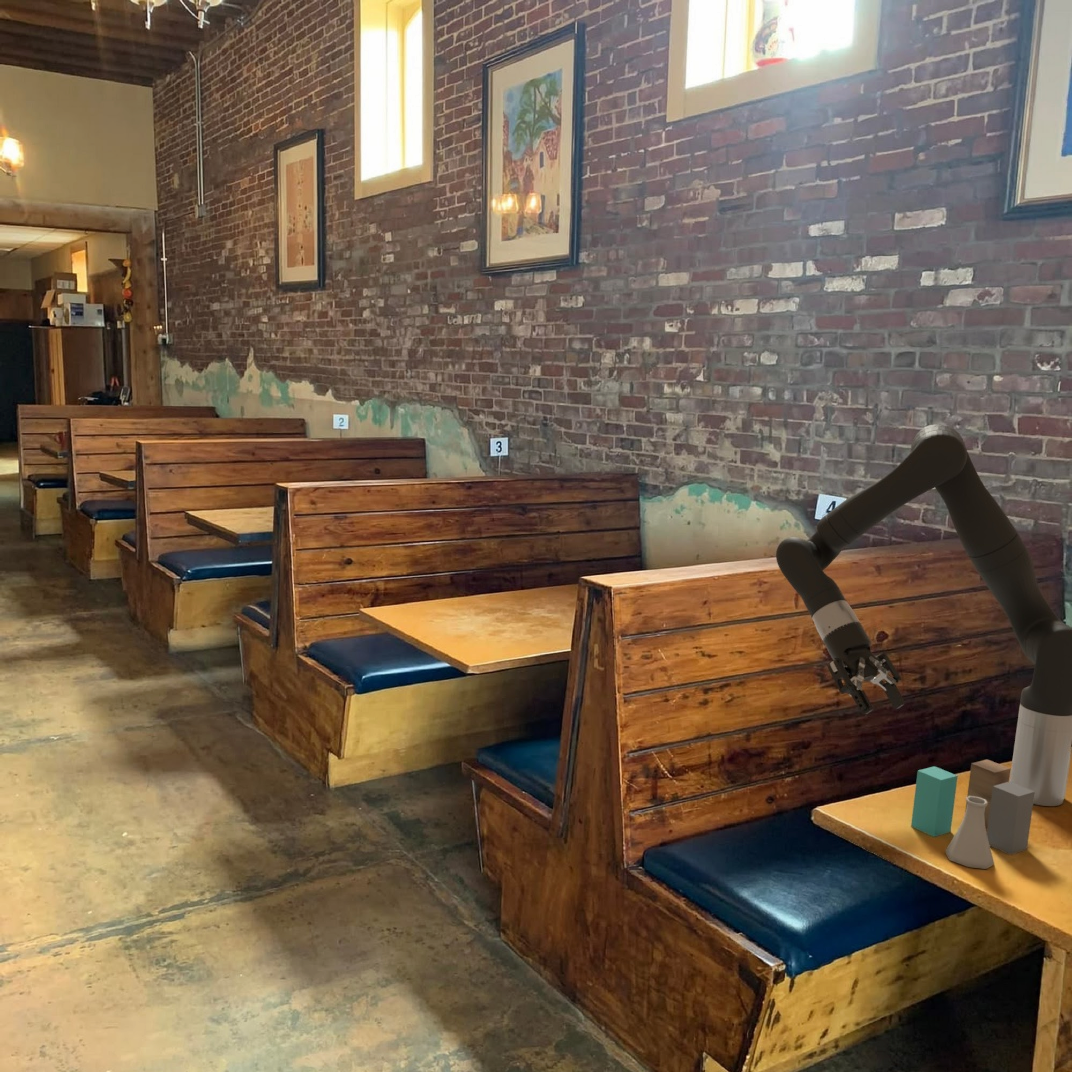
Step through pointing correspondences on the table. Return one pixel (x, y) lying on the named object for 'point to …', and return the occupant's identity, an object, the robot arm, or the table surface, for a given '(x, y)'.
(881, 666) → the robot arm
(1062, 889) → the table surface
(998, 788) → the charcoal post
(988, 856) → the flask
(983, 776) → the walnut post
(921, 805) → the teal post
